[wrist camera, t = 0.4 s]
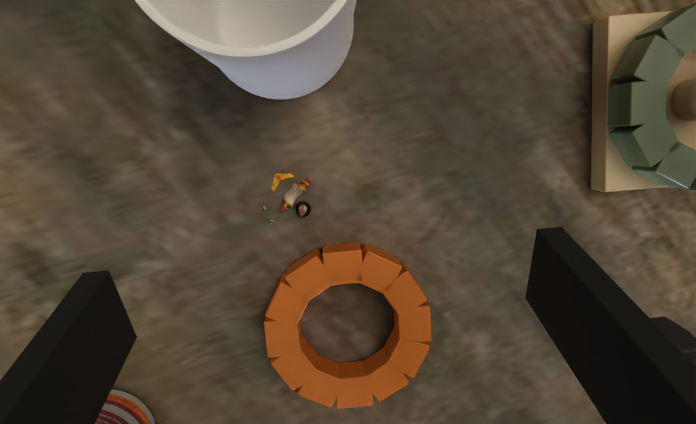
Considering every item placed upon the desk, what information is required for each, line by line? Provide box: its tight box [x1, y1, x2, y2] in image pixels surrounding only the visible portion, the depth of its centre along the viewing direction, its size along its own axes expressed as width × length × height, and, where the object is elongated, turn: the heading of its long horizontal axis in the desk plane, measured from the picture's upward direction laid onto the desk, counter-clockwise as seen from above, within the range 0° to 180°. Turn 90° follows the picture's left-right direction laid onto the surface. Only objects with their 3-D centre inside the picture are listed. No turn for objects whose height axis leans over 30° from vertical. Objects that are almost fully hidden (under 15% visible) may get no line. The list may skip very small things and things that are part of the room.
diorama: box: [261, 173, 311, 225], centre depth 26 cm, size 3×4×2 cm
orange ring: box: [264, 242, 432, 409], centre depth 27 cm, size 10×10×2 cm
